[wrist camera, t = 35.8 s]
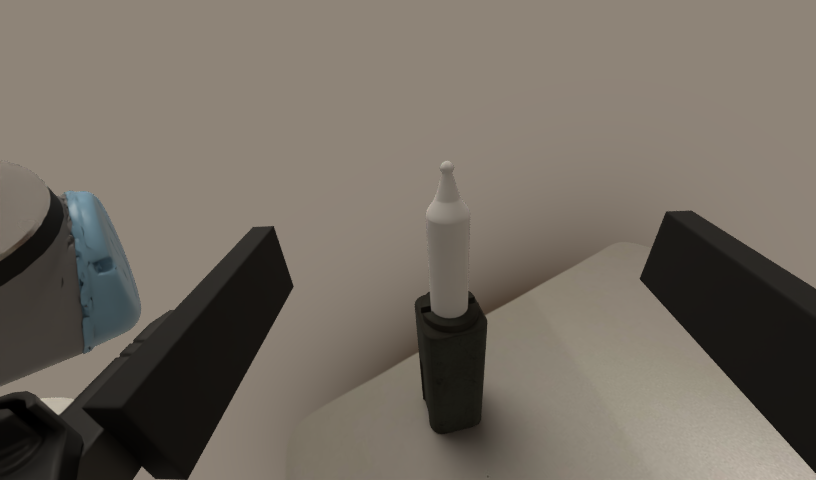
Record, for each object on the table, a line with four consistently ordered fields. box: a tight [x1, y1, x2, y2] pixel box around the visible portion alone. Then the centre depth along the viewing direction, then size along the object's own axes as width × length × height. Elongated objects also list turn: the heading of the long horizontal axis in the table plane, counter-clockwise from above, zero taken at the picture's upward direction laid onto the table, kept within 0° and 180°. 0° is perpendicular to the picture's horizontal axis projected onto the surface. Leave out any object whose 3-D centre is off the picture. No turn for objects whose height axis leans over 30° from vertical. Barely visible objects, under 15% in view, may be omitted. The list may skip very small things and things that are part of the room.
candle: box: [415, 161, 487, 434], centre depth 26 cm, size 5×5×25 cm
